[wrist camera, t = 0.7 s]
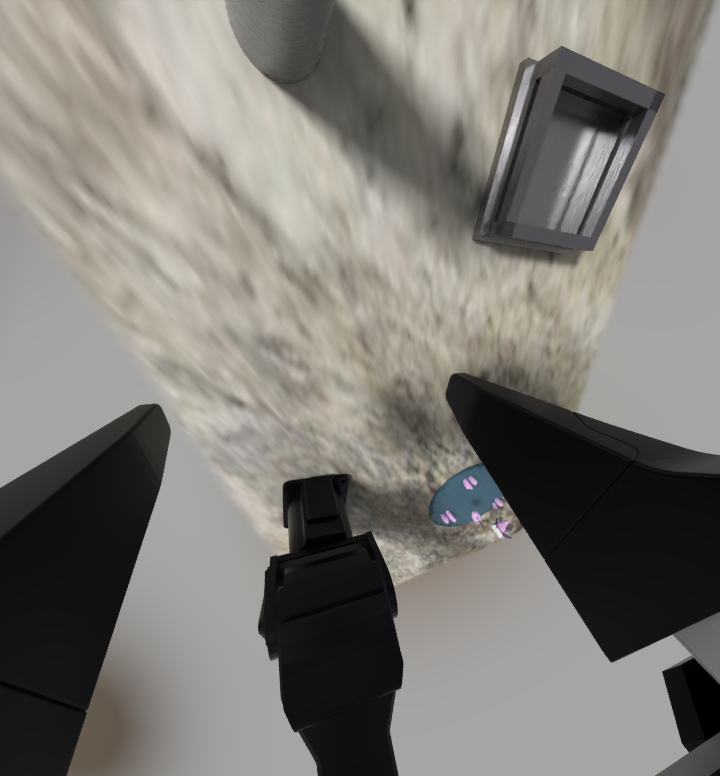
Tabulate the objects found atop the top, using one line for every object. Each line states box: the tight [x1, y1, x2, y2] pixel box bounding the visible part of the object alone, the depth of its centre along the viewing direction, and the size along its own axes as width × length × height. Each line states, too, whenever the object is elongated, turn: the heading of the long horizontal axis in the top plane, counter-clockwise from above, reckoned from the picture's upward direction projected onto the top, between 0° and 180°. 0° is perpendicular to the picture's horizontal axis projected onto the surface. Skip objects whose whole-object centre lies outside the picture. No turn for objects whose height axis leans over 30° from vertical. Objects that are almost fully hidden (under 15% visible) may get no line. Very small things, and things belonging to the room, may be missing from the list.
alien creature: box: [429, 463, 511, 538], centre depth 34 cm, size 12×12×7 cm
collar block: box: [472, 46, 665, 254], centre depth 18 cm, size 9×9×3 cm
